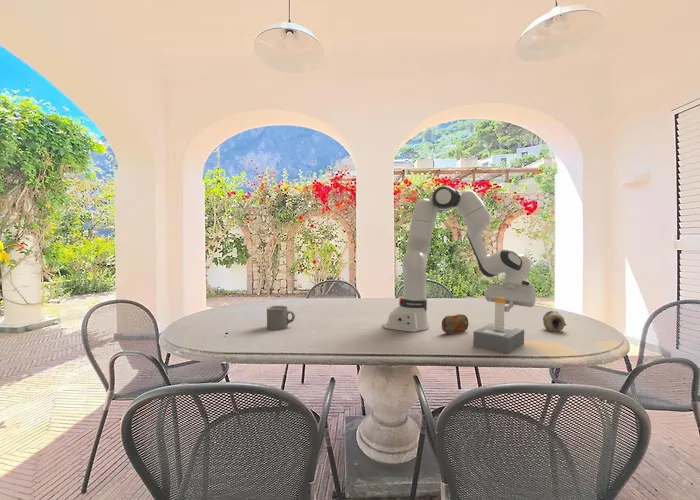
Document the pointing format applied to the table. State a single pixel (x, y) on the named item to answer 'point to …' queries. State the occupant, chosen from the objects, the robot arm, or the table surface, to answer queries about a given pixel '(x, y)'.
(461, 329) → the tin
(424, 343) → the table surface
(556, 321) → the beige hollow lumpy pot
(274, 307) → the coffee mug
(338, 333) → the table surface
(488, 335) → the switch box
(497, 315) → the breaker lever
